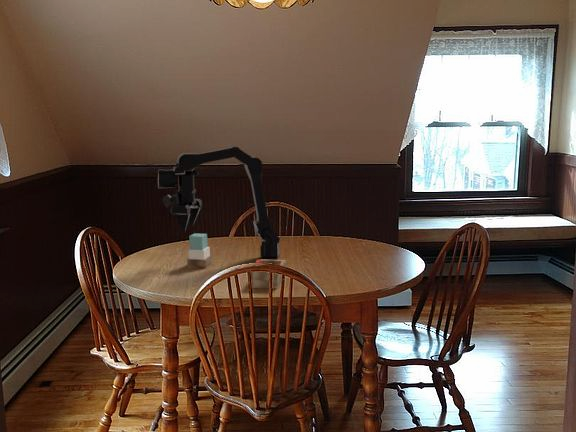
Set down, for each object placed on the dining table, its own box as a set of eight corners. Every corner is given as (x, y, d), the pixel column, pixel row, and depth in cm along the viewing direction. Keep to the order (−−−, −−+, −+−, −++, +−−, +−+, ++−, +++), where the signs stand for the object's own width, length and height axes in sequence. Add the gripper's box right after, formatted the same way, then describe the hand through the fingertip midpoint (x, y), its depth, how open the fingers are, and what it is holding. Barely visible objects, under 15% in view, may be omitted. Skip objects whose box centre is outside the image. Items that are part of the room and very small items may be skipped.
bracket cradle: (285, 275, 209) (285, 260, 208) (277, 288, 194) (277, 272, 193) (260, 274, 211) (260, 259, 210) (250, 287, 196) (249, 271, 195)
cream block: (209, 255, 225) (209, 246, 225) (204, 259, 220) (203, 250, 219) (194, 255, 227) (194, 246, 226) (188, 259, 221) (188, 249, 220)
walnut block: (211, 264, 227) (211, 255, 226) (205, 269, 220) (205, 259, 220) (194, 263, 228) (193, 254, 228) (187, 268, 221) (187, 259, 221)
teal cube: (207, 247, 224) (207, 233, 224) (202, 250, 220) (202, 236, 219) (194, 246, 226) (194, 233, 225) (189, 249, 221) (189, 236, 220)
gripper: (174, 183, 232) (175, 223, 234) (156, 190, 213) (157, 233, 216) (202, 184, 230) (202, 224, 233) (186, 191, 212) (187, 234, 215)
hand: (187, 228), depth 224 cm, fingers open, 9 cm apart
